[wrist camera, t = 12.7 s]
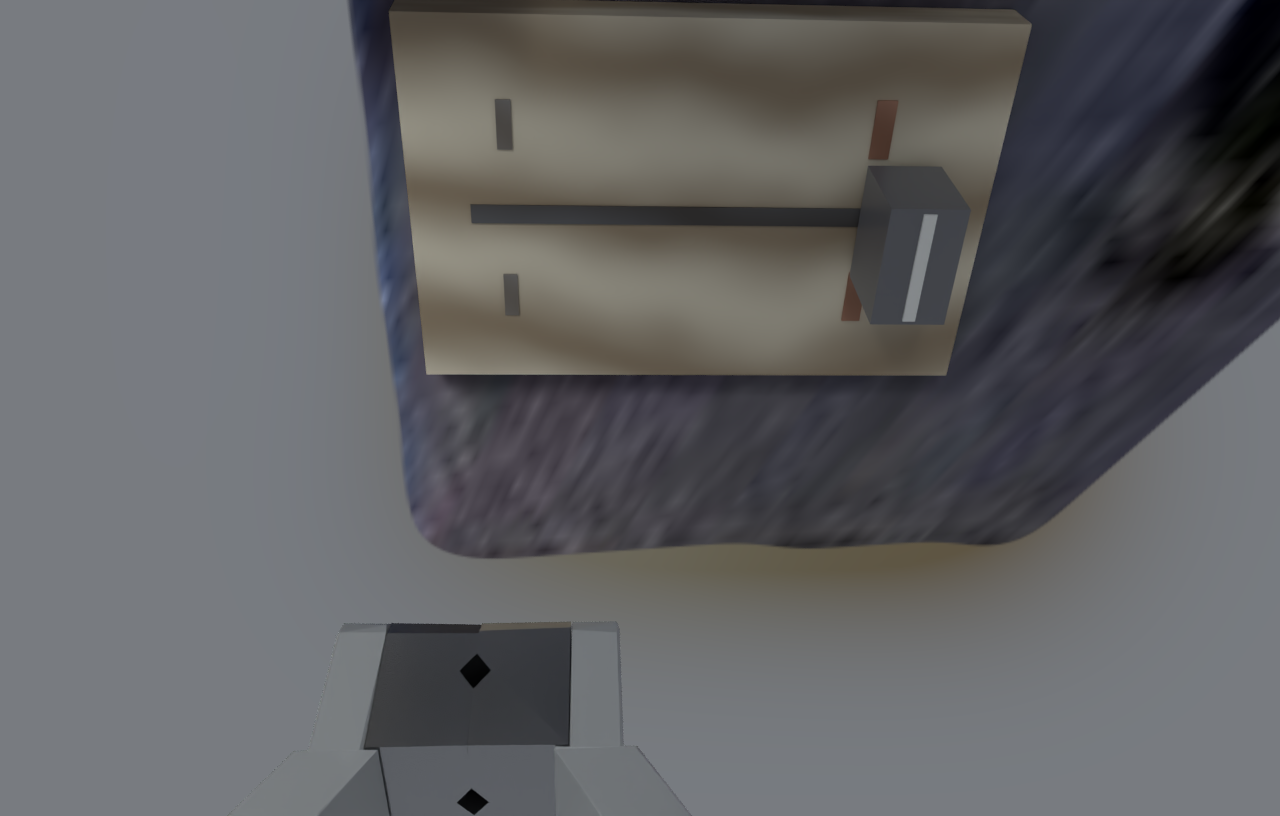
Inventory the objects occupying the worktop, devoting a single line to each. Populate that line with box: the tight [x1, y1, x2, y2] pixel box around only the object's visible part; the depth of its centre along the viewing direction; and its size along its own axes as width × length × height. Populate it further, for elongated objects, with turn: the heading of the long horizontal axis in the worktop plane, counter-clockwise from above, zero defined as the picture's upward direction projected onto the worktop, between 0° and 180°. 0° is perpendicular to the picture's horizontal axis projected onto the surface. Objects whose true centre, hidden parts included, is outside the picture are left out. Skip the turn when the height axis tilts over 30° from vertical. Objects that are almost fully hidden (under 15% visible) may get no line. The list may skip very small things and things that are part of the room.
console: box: [389, 0, 1032, 376], centre depth 45 cm, size 16×24×2 cm, turn 88°
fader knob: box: [850, 166, 971, 325], centre depth 42 cm, size 5×3×4 cm, turn 178°
